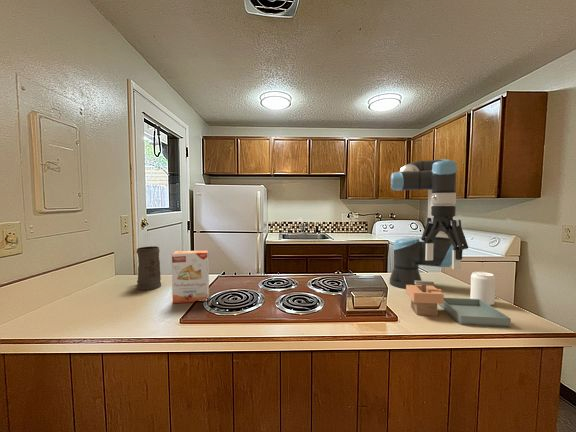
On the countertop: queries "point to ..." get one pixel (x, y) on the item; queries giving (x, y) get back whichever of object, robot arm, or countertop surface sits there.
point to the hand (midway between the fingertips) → (441, 264)
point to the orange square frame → (425, 294)
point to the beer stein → (148, 268)
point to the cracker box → (190, 276)
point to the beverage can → (483, 287)
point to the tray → (474, 312)
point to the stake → (424, 307)
